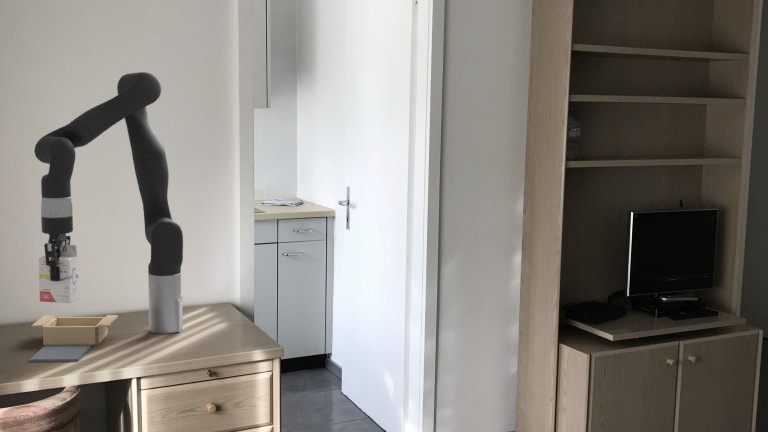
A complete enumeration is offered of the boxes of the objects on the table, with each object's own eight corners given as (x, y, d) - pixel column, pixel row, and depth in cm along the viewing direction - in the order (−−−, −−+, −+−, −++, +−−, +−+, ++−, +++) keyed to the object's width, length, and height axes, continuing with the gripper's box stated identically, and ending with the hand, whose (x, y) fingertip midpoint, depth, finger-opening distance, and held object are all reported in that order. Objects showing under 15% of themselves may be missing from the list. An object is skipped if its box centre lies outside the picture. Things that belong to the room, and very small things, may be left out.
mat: (90, 347, 215) (90, 345, 215) (78, 361, 203) (78, 359, 203) (45, 347, 214) (45, 345, 214) (29, 361, 202) (29, 359, 202)
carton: (118, 333, 228) (118, 315, 228) (109, 344, 218) (108, 325, 217) (44, 333, 226) (44, 315, 226) (32, 344, 216) (31, 325, 215)
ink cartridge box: (38, 302, 204) (36, 246, 202) (48, 297, 209) (46, 243, 207) (70, 303, 204) (68, 247, 202) (79, 299, 209) (78, 244, 207)
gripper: (63, 218, 197) (65, 284, 199) (79, 210, 211) (81, 272, 213) (32, 218, 196) (34, 284, 198) (50, 210, 210) (52, 272, 212)
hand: (59, 278), depth 206 cm, fingers closed on ink cartridge box, 5 cm apart
